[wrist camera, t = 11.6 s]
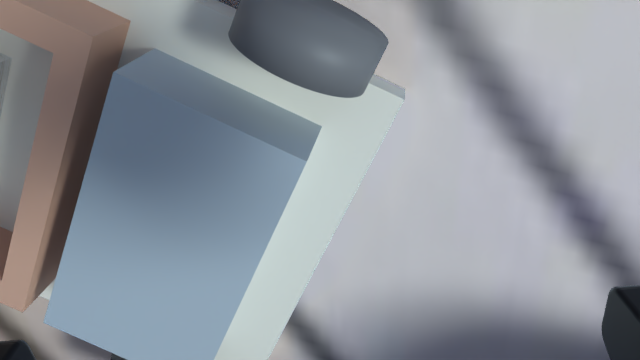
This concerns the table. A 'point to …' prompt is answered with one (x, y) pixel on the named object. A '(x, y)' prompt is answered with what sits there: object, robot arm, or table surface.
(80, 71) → the chassis
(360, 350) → the table surface
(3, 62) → the blue-grey rectangular box
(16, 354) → the robot arm
